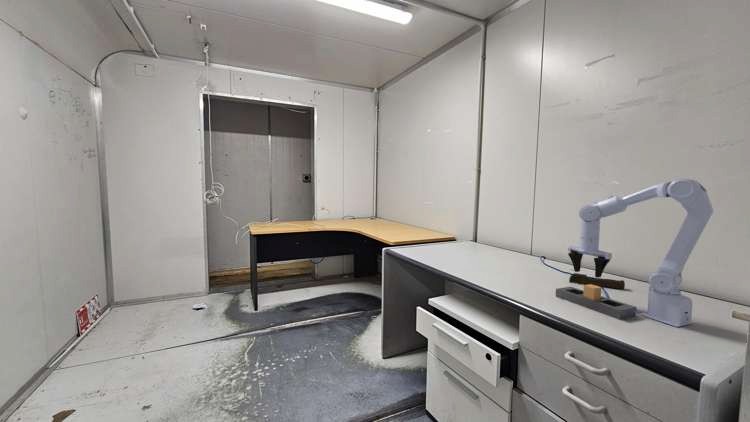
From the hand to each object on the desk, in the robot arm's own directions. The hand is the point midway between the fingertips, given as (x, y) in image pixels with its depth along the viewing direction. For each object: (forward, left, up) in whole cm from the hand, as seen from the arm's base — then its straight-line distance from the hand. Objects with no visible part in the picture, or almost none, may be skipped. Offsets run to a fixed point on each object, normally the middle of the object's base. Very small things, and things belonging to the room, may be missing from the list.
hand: (587, 274), depth 111 cm
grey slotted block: (-5, +4, -10) cm, 12 cm away
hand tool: (+9, -20, -10) cm, 24 cm away
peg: (-5, +5, -10) cm, 12 cm away
